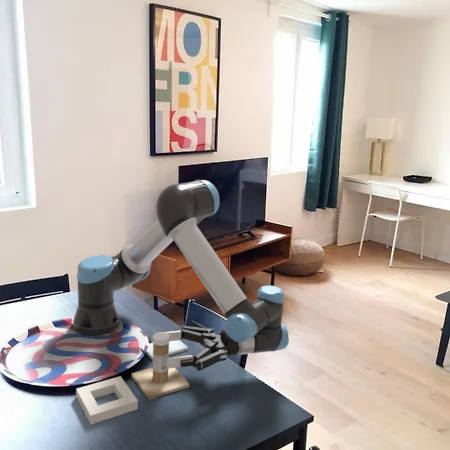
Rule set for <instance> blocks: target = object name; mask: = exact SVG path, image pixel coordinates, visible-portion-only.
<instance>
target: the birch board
mask: <svg viewBox="0 0 450 450" xmlns="http://www.w3.org/2000/svg"><path fill="white" fill-rule="evenodd" d="M152 377H153V366H152V367H149V368H145V369H142V370H138V371H135V372H131V378H132V379H133V380H134V382H135V383H136V385H137V386H138V387H139V389H140V390H141V392H143V394H144V395H145V397H146V398H147V400H148V401H150V400H153V399H157V398H159V397H162V396H165V395H169V394H172V393H175V392H178V391H181V390H184V389H187V388H190V383H189V382H188V381H187V380H186V378H185V377H184V376H183V375H182V374H181V373H180V372H179V371H178V369H177V368H169V369H168V380H167V381H165V382H162V383H158V382H155V381H154V380H153V379H152Z"/></svg>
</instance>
